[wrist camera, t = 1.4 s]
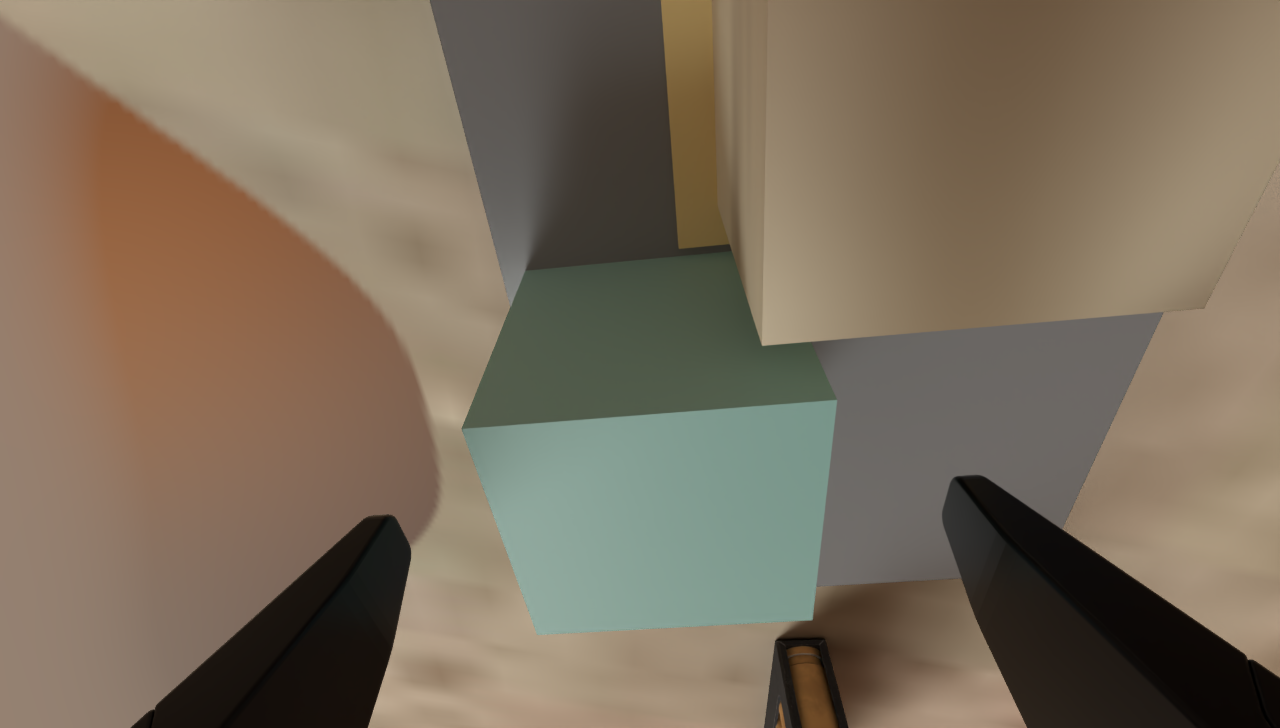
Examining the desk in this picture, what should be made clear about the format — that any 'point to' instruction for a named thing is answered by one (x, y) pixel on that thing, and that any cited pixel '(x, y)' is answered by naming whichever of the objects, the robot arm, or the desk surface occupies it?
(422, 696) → the desk surface
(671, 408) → the teal block
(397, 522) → the robot arm
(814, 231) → the maple block
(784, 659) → the ammunition clip
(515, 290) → the grey flat plate
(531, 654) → the desk surface
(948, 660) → the desk surface
